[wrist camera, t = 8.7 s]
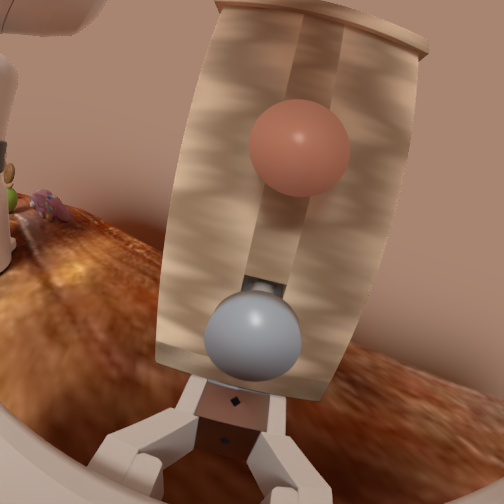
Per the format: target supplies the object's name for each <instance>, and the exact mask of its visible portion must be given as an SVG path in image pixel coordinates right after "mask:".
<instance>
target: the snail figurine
mask: <svg viewBox="0 0 504 504" xmlns="http://www.w3.org/2000/svg"><path fill="white" fill-rule="evenodd" d="M14 174H15V168H14V165H13V164H12V163H9V164H7V165H6V161H5V165H4V171H3V172H2V173H1V178H2V181H3V183H4V185H5V186H6V187H7V190H8V211H9V212H11V211H13V210H14V208H15V207H16V205H17V200H18V198H17V193H16V192H15V190H14V189H13V188H12V186H13V183H12V181H13V179H14Z"/></svg>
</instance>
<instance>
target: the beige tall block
mask: <svg viewBox="0 0 504 504" xmlns="http://www.w3.org/2000/svg"><path fill="white" fill-rule="evenodd" d="M214 1H215V4H216V6H217V8H218V11H219V13H220V17H219V19H218V22H217V25H216V27H215V30H214V33H213V36H212V38H211V42H210V44H209V47H208V50H207V53H206V57H205V60H204V63H203V66H202V70H201V73H200V76H199V79H198V83H197V86H196V90H195V94H194V97H193V101H192V105H191V108H190V112H189V116H188V120H187V124H186V129H185V133H184V137H183V141H182V146H181V151H180V155H179V160H178V165H177V170H176V175H175V181H174V186H173V191H172V197H171V204H170V209H169V215H168V222H167V229H166V236H165V243H164V251H163V260H162V268H161V278H160V289H159V300H158V314H157V330H156V354H155V362H157V363H159V364H162V365H165V366H168V367H171V368H174V369H177V370H180V371H183V372H187V373H190V374H194V375H197V376H200V377H203V378H207V379H210V380H214V381H218V382H221V383H225V384H229V385H233V386H237V387H242V388H246V389H250V390H255V391H260V392H265V393H270V394H275V395H280V396H286V397H292V398H298V399H305V400H312V401H320V400H321V398H322V396H323V394H324V393H325V391H326V389H327V387H328V385H329V383H330V381H331V379H332V377H333V375H334V373H335V371H336V369H337V367H338V365H339V363H340V361H341V359H342V357H343V355H344V353H345V351H346V348H347V346H348V344H349V342H350V340H351V337H352V335H353V333H354V330H355V328H356V326H357V323H358V321H359V318H360V316H361V314H362V311H363V309H364V306H365V304H366V301H367V299H368V296H369V293H370V291H371V288H372V285H373V282H374V280H375V277H376V274H377V271H378V268H379V265H380V262H381V259H382V256H383V253H384V250H385V247H386V243H387V240H388V237H389V233H390V229H391V226H392V222H393V219H394V215H395V212H396V208H397V203H398V199H399V195H400V191H401V187H402V182H403V178H404V172H405V168H406V162H407V157H408V152H409V146H410V140H411V134H412V126H413V119H414V111H415V101H416V90H417V75H418V62H419V61H420V60H421V59H423V58H424V57H425V56H426V55H428V54H429V53H428V52H429V48H428V47H429V46H428V40H427V39H425V38H423V37H421V36H419V35H417V34H415V33H413V32H411V31H409V30H407V29H405V28H402V27H400V26H398V25H395V24H393V23H390V22H388V21H386V20H383V19H381V18H378V17H375V16H372V15H370V14H367V13H364V12H361V11H357V10H355V9H351V8H348V7H345V6H341V5H337V4H334V3H330V2H326V1H321V0H214ZM293 99H302V100H309V101H313V102H316V103H318V104H320V105H322V106H324V107H326V108H327V109H329V110H330V111H331V112H333V113H334V114H335V115H336V116H337V117H338V119H339V120H340V121H341V123H342V124H343V126H344V128H345V129H346V132H347V134H348V138H349V142H350V158H349V163H348V166H347V168H346V171H345V173H344V174H343V176H342V177H341V179H340V180H339V181H338V182H337V183H336V184H335V185H334V186H333V187H331V188H330V189H328V190H327V191H325V192H323V193H321V194H318V195H315V196H310V197H294V196H289V195H285V194H282V193H280V192H278V191H276V190H274V189H273V188H271V187H270V186H269V185H267V184H266V183H265V182H264V181H263V180H262V179H261V178H260V176H259V175H258V174H257V172H256V170H255V169H254V167H253V164H252V162H251V158H250V154H249V139H250V134H251V131H252V128H253V126H254V124H255V122H256V121H257V119H258V118H259V117H260V115H261V114H262V113H263V112H265V111H266V110H267V109H268V108H270V107H271V106H273V105H275V104H277V103H279V102H282V101H286V100H293ZM246 275H248V276H253V277H257V278H261V279H265V280H269V281H273V282H277V283H282V284H283V287H282V291H281V294H280V298H282V299H283V300H284V301H286V302H287V303H288V304H289V305H290V306H291V307H292V309H293V310H294V312H295V313H296V315H297V318H298V320H299V325H300V334H301V351H300V355H299V357H298V359H297V361H296V363H295V364H294V365H293V367H292V368H291V369H290V370H288V371H287V372H286V373H284V374H283V375H281V376H279V377H277V378H274V379H271V380H267V381H260V382H252V381H244V380H240V379H237V378H234V377H232V376H229V375H228V374H226V373H224V372H223V371H221V370H220V369H219V368H218V367H217V366H216V365H215V364H214V363H213V362H212V361H211V359H210V358H209V356H208V354H207V352H206V349H205V345H204V333H205V329H206V326H207V324H208V322H209V320H210V318H211V316H212V314H213V312H214V310H215V309H216V307H217V306H218V305H219V304H220V302H222V301H223V300H224V299H225V298H227V297H228V296H230V295H232V294H234V293H237V292H240V291H242V290H243V286H244V281H245V277H246Z"/></svg>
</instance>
